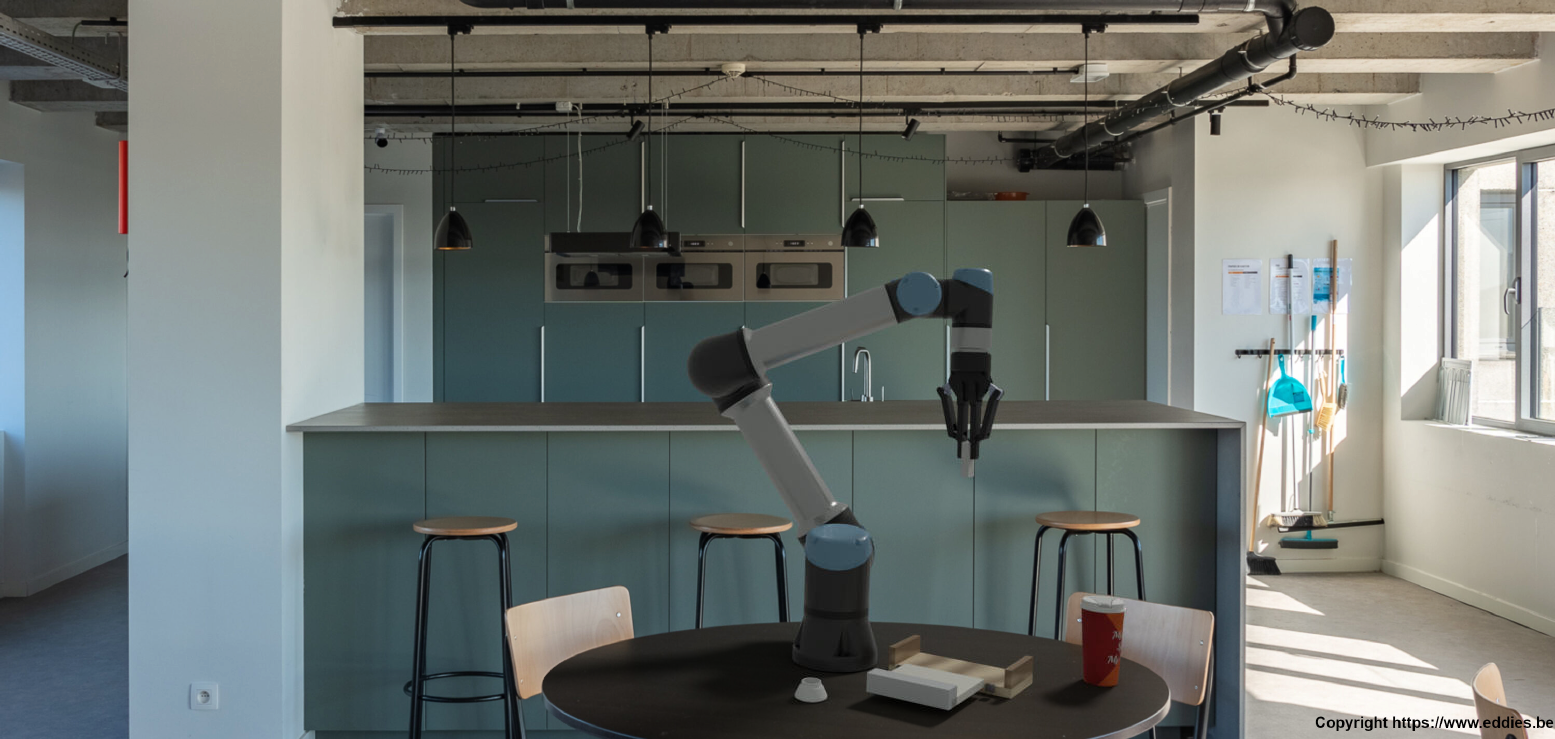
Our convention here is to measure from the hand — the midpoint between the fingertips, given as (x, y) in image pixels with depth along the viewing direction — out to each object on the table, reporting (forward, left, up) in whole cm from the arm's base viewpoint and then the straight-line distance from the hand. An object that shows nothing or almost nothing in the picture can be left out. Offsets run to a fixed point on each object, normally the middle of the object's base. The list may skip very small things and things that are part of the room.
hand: (967, 476), depth 195 cm
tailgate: (+7, -24, -29) cm, 39 cm away
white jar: (-8, -42, -33) cm, 54 cm away
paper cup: (+27, -4, -33) cm, 43 cm away
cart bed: (+7, -19, -32) cm, 38 cm away
